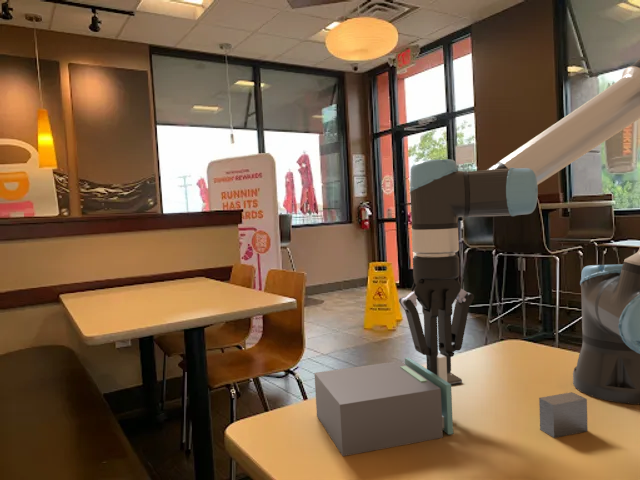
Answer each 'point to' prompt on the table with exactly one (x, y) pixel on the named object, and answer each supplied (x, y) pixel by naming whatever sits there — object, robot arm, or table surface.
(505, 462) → the table surface
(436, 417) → the housing
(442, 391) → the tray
